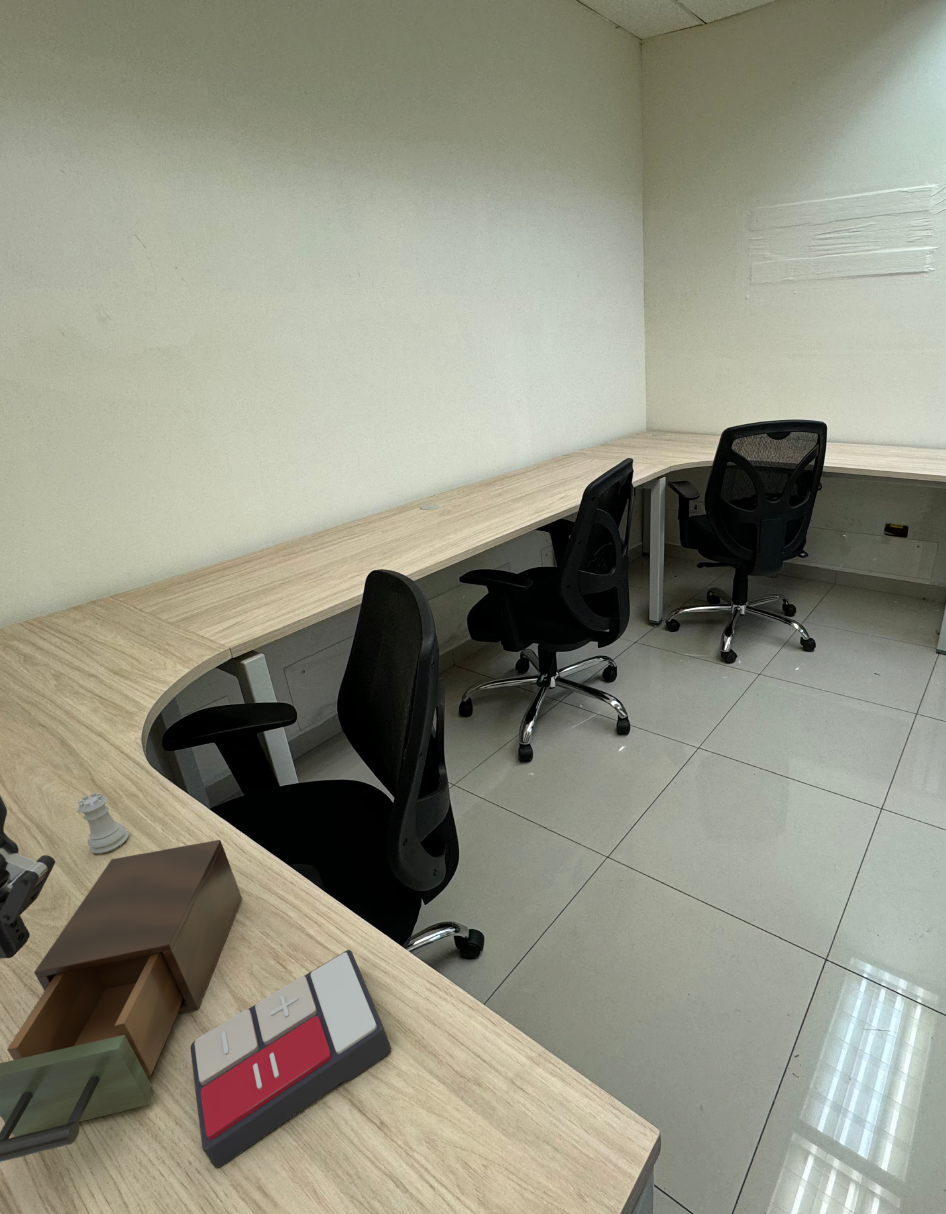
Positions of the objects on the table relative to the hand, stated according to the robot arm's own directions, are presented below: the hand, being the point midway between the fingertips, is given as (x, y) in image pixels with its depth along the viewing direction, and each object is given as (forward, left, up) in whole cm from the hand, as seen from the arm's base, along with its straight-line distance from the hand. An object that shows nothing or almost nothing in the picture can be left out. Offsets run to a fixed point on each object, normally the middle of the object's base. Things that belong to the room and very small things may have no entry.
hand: (11, 949), depth 55 cm
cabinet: (+4, +10, -15) cm, 18 cm away
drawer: (+4, -3, -14) cm, 15 cm away
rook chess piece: (-12, +33, -15) cm, 38 cm away
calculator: (+21, -5, -15) cm, 27 cm away
